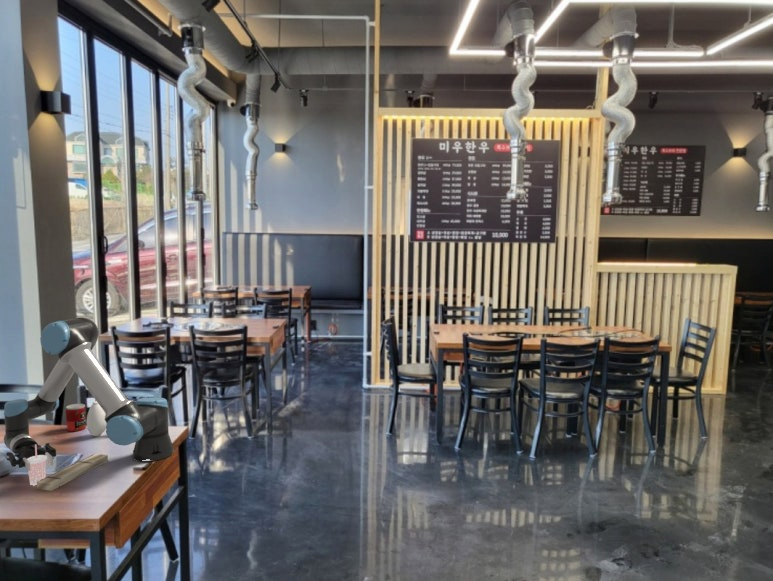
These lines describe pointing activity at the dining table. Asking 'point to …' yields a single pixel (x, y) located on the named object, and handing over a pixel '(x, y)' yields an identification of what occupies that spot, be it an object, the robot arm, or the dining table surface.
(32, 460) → the beverage cup
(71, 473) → the maple strip
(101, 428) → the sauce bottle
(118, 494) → the dining table surface
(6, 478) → the dining table surface
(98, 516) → the dining table surface
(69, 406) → the canned food
